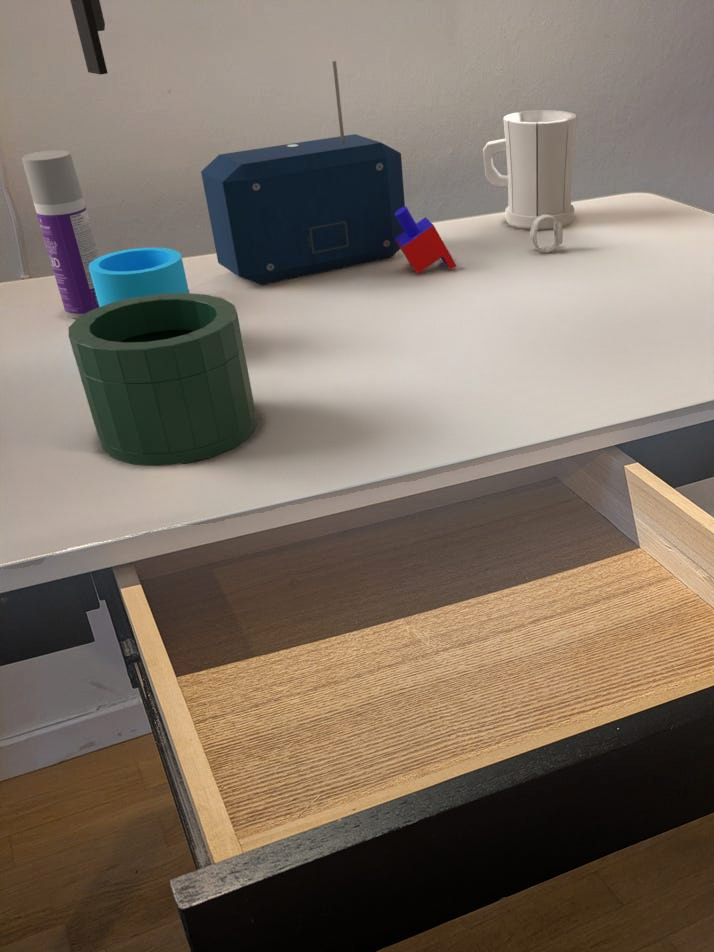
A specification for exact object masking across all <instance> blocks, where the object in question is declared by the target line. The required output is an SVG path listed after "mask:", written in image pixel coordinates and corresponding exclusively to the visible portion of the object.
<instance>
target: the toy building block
mask: <svg viewBox="0 0 714 952" xmlns="http://www.w3.org/2000/svg"><path fill="white" fill-rule="evenodd" d="M395 216H396V218H397V219H398V221H399V223H400V224H401V226H402V228H403V229H404V231H405V232H404V233H402V234H401V235H399V236H398V237H397V238H395V240H396V242H397V244H398V245H399V247H400V251H401V252H402V254H403V255H404V257H405V258H406V261H407V262H408V263H409V265H410V267H411V268H412V269H413V270H414V271H415V273H416V274H417V275H419V274H421V273H422V272H423V271H424V270H426V269H428V268H429V267H430V266H432V265H433V264H435V263H436V262H437V261H439V260H441V262H442V263H443V264H444V265H445V266H446V267H447V268H448V269H449V270H450V271H451V270H453V269H455V268H456V267H457V264H456V261H455V260H454V258H453V257H452V255H451V253H450V251H449V250H448V247H447V246H446V244H445V242H444V241H443V239H442V237H441V235H440V234H439V233H438V230H437V229H436V227H435V225H434V224H433V222H431V221H430V220H429V218H427V216H425V217H423V218H422V219H420V220H419V221H418V222H416V220H415V219H414V217H413V215H412V214H411V212H410V210H409V208H408V207H407V206H405V207H402V208H400V209H399V210H397V211H396V213H395Z"/></svg>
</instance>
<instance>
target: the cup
mask: <svg viewBox="0 0 714 952" xmlns="http://www.w3.org/2000/svg"><path fill="white" fill-rule="evenodd" d="M502 119H503V128H504V138H501V139H495V140H491V141H487V143H486V144H485V146H484V147H483V148H482V154H483V164H484V165H483V167H484V176H485V178H486V180H488V181H489V182H490V184H492V185H493V186H498V187H507V193H508V206H506V207H505V208H504V209H505V211H504V213H505V222H506V223H508V225H510V226H511V227H514V228H517V229H522V230H531V227H532V225H533V224H532V223H533V221H534V220H535V219H536V218H537V217H538V216H541V215H551V216H553V217H554V218H556V219H557V220H558V221H559V222H560V223H561V224H562V225H563V227H565V226H567V225H569V224H570V223H572V221H573V220H574V219H575V206H574V205H573V204H572V182H573V164H574V151H575V140H576V139H575V138H576V128H577V115H576V114H575V113H573V112H570V111H565V110H554V109H552V110H551V109H549V110H548V109H544V110H543V109H539V110H537V109H536V110H526V111H517V112H512V113H508V114H506V115H505V116H504V117H503V118H502ZM502 152H506V153H505V154H506V167H507V175H506V174H501V173H500V172H499V170H498V169H497V168H496V167H495V166H494V160H493V158H494V156H495V154H496V153H502ZM554 222H555V220H553V219H550V218H549V219H548V220H545V221H543V222H542V223H540V224H539V226H538V230H539V231H540V230H554ZM538 230H537V231H538Z"/></svg>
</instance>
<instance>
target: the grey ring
mask: <svg viewBox="0 0 714 952" xmlns="http://www.w3.org/2000/svg"><path fill="white" fill-rule="evenodd" d="M549 218H550V219H553V220H555V222H554V228H553V243H552V244H551V245H550V246H547V247H544V248H542V247H540V246H539V244H538V242H539V241H538V226H539V224H540V223H542V222H543V221H545V220H548V219H549ZM532 224H533V225H532V227H531V229H530V232H529V237H530V241H531V243H532V246H533V247H534V248H535V249H536V250H537V251H539V252H541V253H545V254H548V253H552V252H554V251H555V250H557V248H559V246H561V245H562V244H563V237H564V236H563V234H564V233H563V232H564V231H563V229H564V226H563V225H562V224H561V223H560V222H559V221H558V220H557V219H556V218H554V217H553V216H551V215H541V216H538V217H537V218H536V219H535V220H534V221H533V223H532Z"/></svg>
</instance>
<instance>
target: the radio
mask: <svg viewBox="0 0 714 952" xmlns="http://www.w3.org/2000/svg"><path fill="white" fill-rule="evenodd" d="M332 70H333V78H334V87H335V97H336V106H337V116H338V125H339V134H340V135H339V136H334V137H333V136H332V137H327V138H320V139H313V140H306V141H300V142H293V143H287V144H280V145H274V146H267V147H266V146H265V147H261V148H253V149H247V150H239V151H234V152H233V151H232V152H227V153H226V152H225V153H221V154H220V153H219V154H218V155H217V156H216V157H214V159H213V160H212V161H210V162H209V164H207V165H206V166H205V167H204V168H203V169H202V170H201V171H200V175H201V179H202V184H203V190H204V195H205V200H206V201H205V202H206V206H207V211H208V216H209V221H210V226H211V231H212V238H213V243H214V248H215V253H216V254H215V255H216V259H217V264H219V265H220V266H221V267H224V268H225V269H226V270H228V271H230V272H231V273H232V274H234V275H235V276H237V277H239V278H241V279H243V280H246V281H250V282H252V283H254V284H257V285H260V286H265V285H270V284H274V283H279V282H283V281H289V280H293V279H298V278H302V277H307V276H313V275H317V274H322V273H327V272H331V271H335V270H340V269H346V268H349V267H354V266H355V267H356V266H360V265H364V264H368V263H375V262H379V261H383V260H388V259H392V258H393V257H394V256H395V255H396V254H397V253H398V252H399V251H401V249H400V247H399V245H398V244H397V242H396V240H395V238H397V237H398V236H399V235H401V234H402V233H404V232H405V231H404V229H403V228H402V226H401V224H400V223H399V221H398V219H397V218H396V216H395V213H396V211H397V210H399V209H400V208H402V207H406V204H405V203H406V202H405V190H404V189H405V188H404V175H403V162H402V161H403V160H402V153H401V152H400V151H398V150H396V149H394V148H392V147H390V146H388V145H387V144H385V143H383V142H382V141H378V140H375V139H372V138H368V137H366V136H362V135H359V134H357V133H356V134H355V133H353V134H347V135H345V133H344V124H343V123H344V122H343V115H342V114H343V113H342V104H341V103H342V102H341V94H340V84H339V75H338V66H337V60H335V61H333V60H332Z"/></svg>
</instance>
